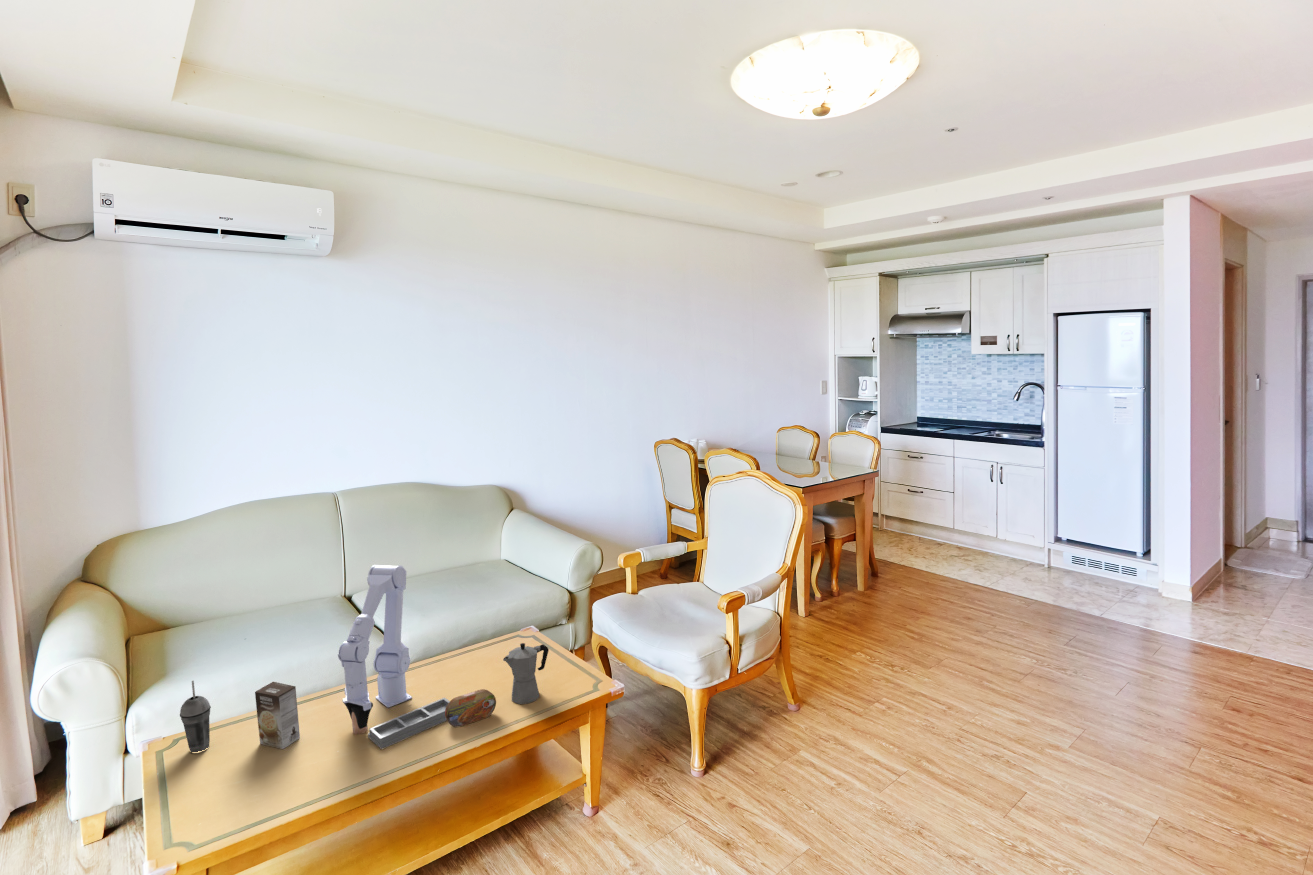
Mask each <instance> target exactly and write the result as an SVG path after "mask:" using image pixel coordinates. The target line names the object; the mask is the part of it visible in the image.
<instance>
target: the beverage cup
mask: <svg viewBox="0 0 1313 875" xmlns="http://www.w3.org/2000/svg"><path fill="white" fill-rule="evenodd" d="M191 690H192V696H191V697H189V698H187V699H186V700H185V701H184V702H183V704H181V707H180V711H179V717H180V719H181V722H182V723H183V728H184V733H185V736H186V741H187V746H188V748H189V751H191V752H198V751H202V750H205V749H206V748H208V747H209V748H210V742H211V741H210V736H211V735H210V715H211V708H212V707H211V705H210V702H209V699H207V698H206V697H204V696H201V695H196V690H195V681H194V680H191ZM209 748H208V749H209Z"/></svg>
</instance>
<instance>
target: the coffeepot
mask: <svg viewBox="0 0 1313 875" xmlns="http://www.w3.org/2000/svg"><path fill="white" fill-rule="evenodd" d="M519 645H520V646H518V647H515V648H514V649H512V650H510V651H509V652H508V654H507V655H505V656H504V658H503V662H505V663H507V665H508V666H509V667H510V669H511V672H512V676H513V681H512V688H511V701H512V702H513V703H515V704H518V705H526V704H527V705H528V704H531V703H533V702H535V701H537V700H538V699H539V698H540V692H539V688H538V682H537V678H536V670H538V671H542V670H544V669H545V666H546V662H547V660H548V659H547V658H548V654H549V651H550V650H549V647H547V646H546V645H545V644H540V645H535V646H526V643H524V642H521V643H519ZM542 651H543V653H542V658H541V662H540V664H541V665H540V667H537V659H538V658H537V657H538V653H540V652H542ZM536 668H537V669H536Z"/></svg>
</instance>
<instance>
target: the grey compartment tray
mask: <svg viewBox="0 0 1313 875" xmlns="http://www.w3.org/2000/svg"><path fill="white" fill-rule="evenodd" d="M450 701H451V700H449V699H447V698H446V697H442V698H440V699H437V700H435V701H432V702H430V703H428V704H425V705H423V706H421V707H418V708H416V709H414V710H411V711H408V712H407V713H403V714H401V715H400V716H399V715H398V716H396V717H394V718H392V719H389V720H387V721H384V722H382V723H379V724H377V725H375V726H372V727H370V728H368V731H369V732H368V733H367V738H368V739H370V741H371V742H373V744H375V745H376V746H377V747H378V748H380V749H381V750H384V749H386V748H388V747H390V746H392V745H394V744H396V743H397V744H398V743H399V742H401V741H403V740H406V739H408V738H410V737H412V736H414V735H418V734H419V733H422V732H424V731H425V730H426V731H427V730H428V729H431V728H432V727H435V726H437V725H440V724H442V723H444V722H446V721H447V719H446V717H445V709H446V706H447V704H448V703H449V702H450ZM447 722H448V721H447Z"/></svg>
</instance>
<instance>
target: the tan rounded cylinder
mask: <svg viewBox="0 0 1313 875" xmlns="http://www.w3.org/2000/svg"><path fill="white" fill-rule="evenodd" d="M351 722H352V723H351V726H352V734H354V735H361V734H364V733H366V732H367V731H369V728H368V727H369V726H368V725H367V727H364V728H362V729H359V727H358V724H357V720H356V716H355V714H354V712H352V720H351Z"/></svg>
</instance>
